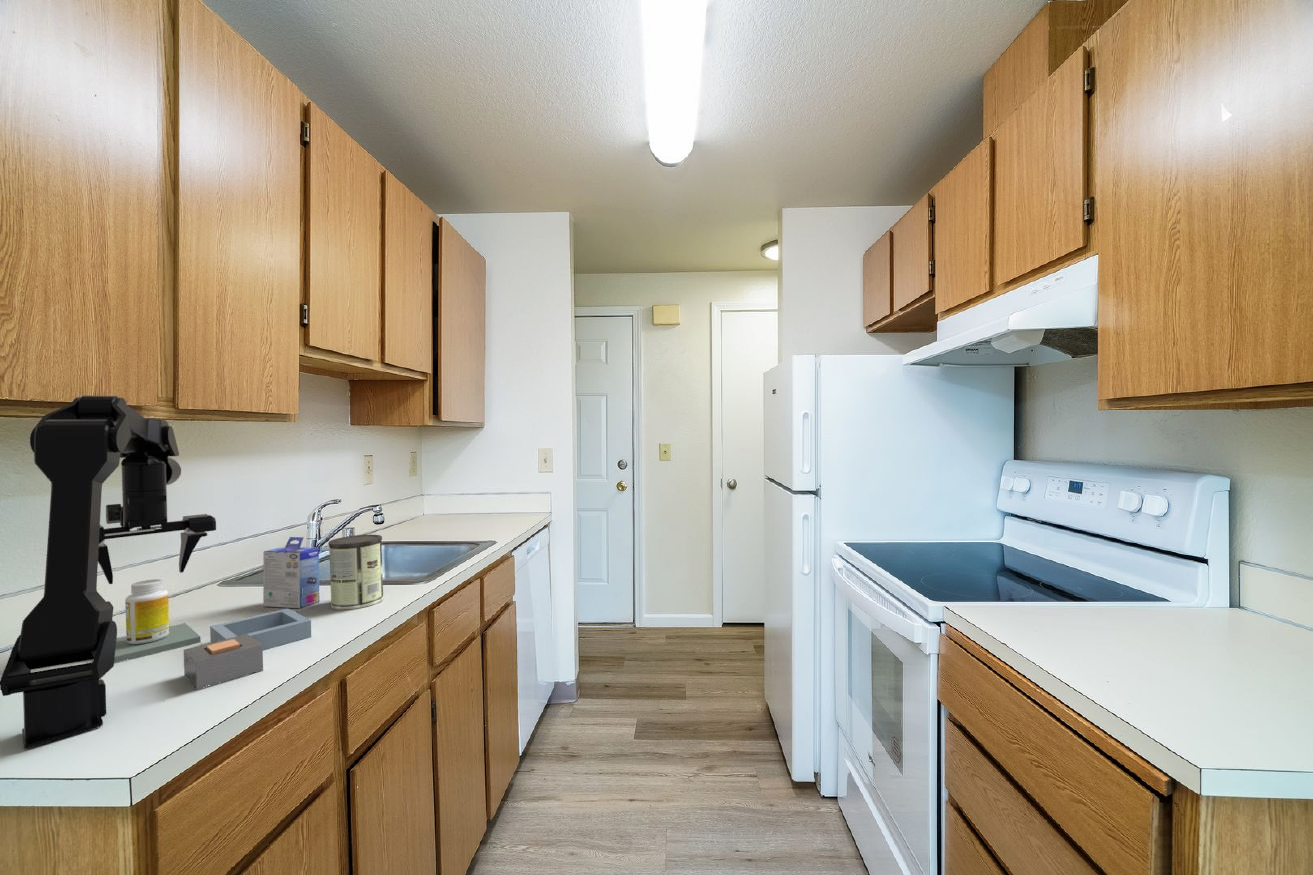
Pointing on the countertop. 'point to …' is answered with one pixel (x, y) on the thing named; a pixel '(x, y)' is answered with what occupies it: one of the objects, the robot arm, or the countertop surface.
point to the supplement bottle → (147, 612)
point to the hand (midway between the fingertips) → (147, 577)
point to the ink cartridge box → (291, 575)
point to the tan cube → (222, 646)
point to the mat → (156, 643)
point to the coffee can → (356, 571)
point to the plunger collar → (222, 662)
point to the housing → (266, 628)
